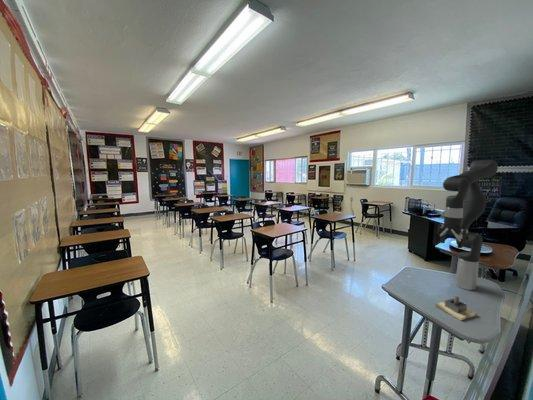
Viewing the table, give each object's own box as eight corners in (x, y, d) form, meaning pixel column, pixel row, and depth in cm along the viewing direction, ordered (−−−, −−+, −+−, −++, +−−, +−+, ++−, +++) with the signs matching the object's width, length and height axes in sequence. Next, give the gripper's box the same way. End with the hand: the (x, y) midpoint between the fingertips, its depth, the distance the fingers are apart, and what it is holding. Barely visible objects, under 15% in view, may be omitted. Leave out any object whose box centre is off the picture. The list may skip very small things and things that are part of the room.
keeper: (450, 301, 122) (451, 289, 121) (476, 315, 110) (478, 301, 109) (435, 305, 118) (436, 293, 117) (460, 320, 107) (462, 306, 106)
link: (453, 303, 118) (453, 298, 117) (466, 310, 112) (467, 304, 112) (445, 306, 116) (445, 300, 116) (457, 313, 110) (458, 307, 110)
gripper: (474, 217, 114) (471, 248, 116) (444, 212, 127) (442, 240, 130) (463, 219, 111) (460, 250, 114) (434, 213, 125) (432, 242, 127)
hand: (450, 245), depth 122 cm, fingers open, 8 cm apart
